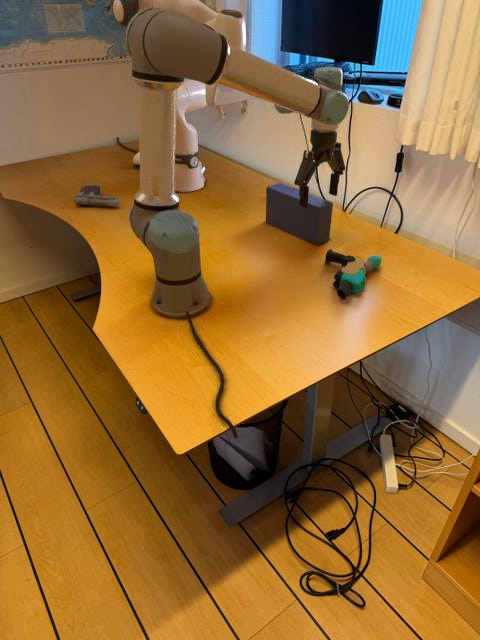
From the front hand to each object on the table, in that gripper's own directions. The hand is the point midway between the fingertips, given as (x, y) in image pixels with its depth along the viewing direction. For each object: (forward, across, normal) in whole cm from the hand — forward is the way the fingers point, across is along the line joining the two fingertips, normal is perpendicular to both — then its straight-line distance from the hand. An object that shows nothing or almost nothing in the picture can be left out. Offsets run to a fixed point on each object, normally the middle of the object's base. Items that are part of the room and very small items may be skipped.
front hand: (318, 200), depth 147 cm
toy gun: (+12, +37, -76) cm, 86 cm away
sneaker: (+13, -5, -107) cm, 108 cm away
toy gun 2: (+13, +13, +22) cm, 29 cm away
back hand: (-18, +1, -39) cm, 43 cm away
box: (+13, 0, -8) cm, 15 cm away
